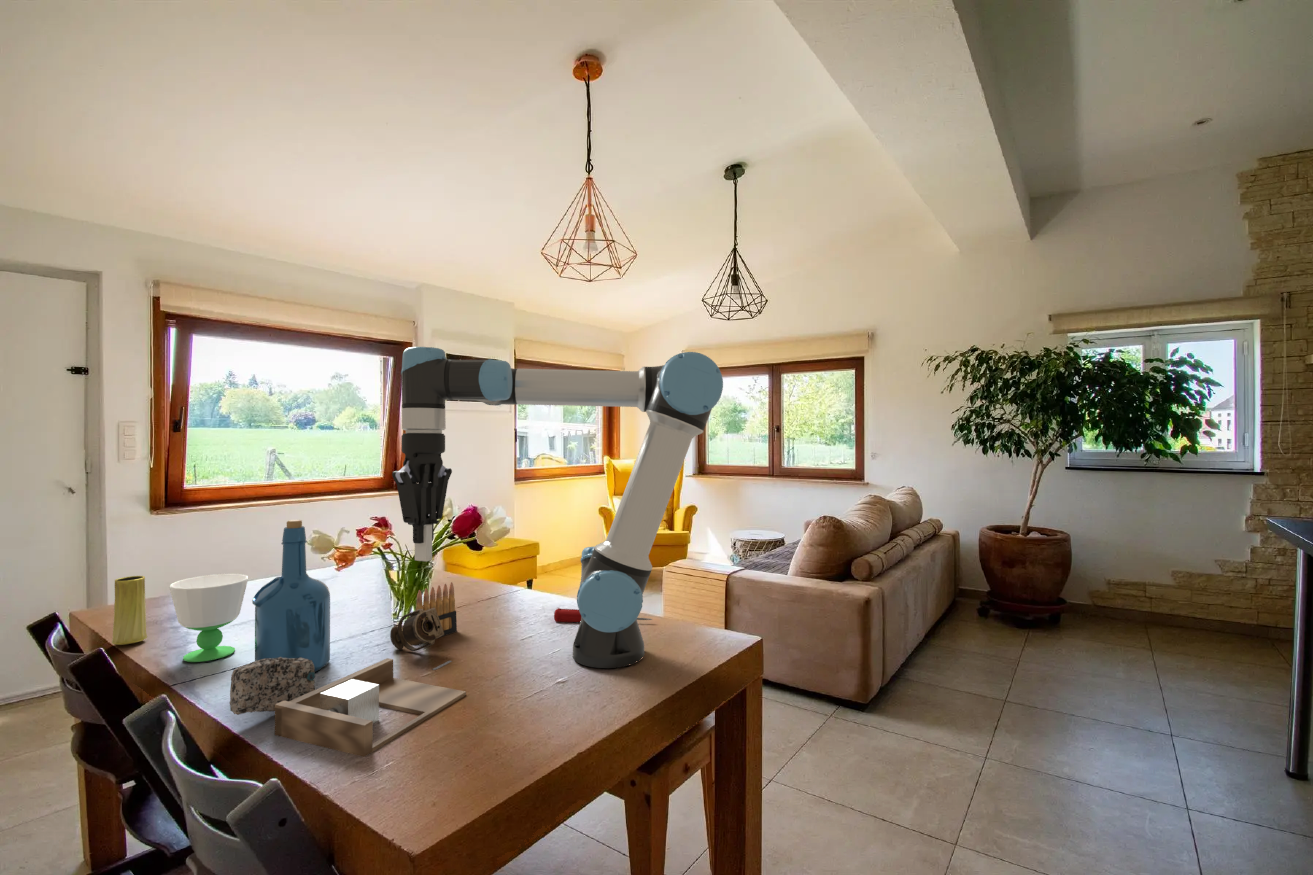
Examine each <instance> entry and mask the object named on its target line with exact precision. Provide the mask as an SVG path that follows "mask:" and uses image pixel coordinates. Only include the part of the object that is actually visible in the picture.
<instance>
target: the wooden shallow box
mask: <svg viewBox="0 0 1313 875" xmlns="http://www.w3.org/2000/svg"><path fill="white" fill-rule="evenodd" d="M351 679H354V680H359V681H364V682H369V683H374V684H379V708H385V709H390V710H395V711H400V712H405V713H409V714H411V713H412V714H415V715H418V716H416V717H414V719H412V720H410V721H408V722H407V723H405V724H403V725H401V726H400V727H398V728H397V729H394V730H393V731H392V732H390V733H388V734H386V735H385V736H383V737H381V738H380V739H378V740H376V741H374V742H373V735H374V734H373V733H374V732H373V728H374V727H373V725H374V723H373V721H371V720H367V719H362V718H358V717H354V716H349V715H345V714H340V713H336V712H332V711H327V710H323V709H320V693H322V692H324V691H326V690H329V689H331V688H333V687H335V686H338V685H340V684H342V683H344V682H347V681H349V680H351ZM466 695H467V691H465V690H460V689H454V688H449V687H443V686H438V685H433V684H428V683H423V682H417V681H413V680H408V679H407V680H406V679H402V678H397V677H394V659H393V658H388V657H386V658H384V659H382V660H380V661H378V662H376V663H373V664H371V665H367V667H364V668H362V669H359V670H357V671H355V672H352V673H350V674H348V675H345V676H343V677H342V678H339V679H337V680H334V681H332V682H330V683H328V684H325V685H323V686H320V687H318V688H317V689H316V688H315V690H314V691H311V692H309V693H307V694H305V695H302V696H300V697H298V698H296V699H293V700H291V701H289V702H288V701H282V702H279V703H277V704H275V711H274V736H277V737H280V738H284V739H289V740H293V741H297V742H301V743H305V744H309V745H313V746H317V747H322V748H326V749H329V750H333V751H338V752H342V753H346V754H351V755H355V756H359V757H363V758H364V757H366V756H368V755H370V754H371V753H373V752H375V751H376V750H378V749H379V748H382V747H383V746H385V745H386V744H388V743H389V742H391V741H393V740H394V739H396V738H397V737H400V736H402V734H405V733H406V732H407V731H410V730H411V729H413V728H414V727H416V726H418V725H419V724H421V723H423V722H424V721H425V720H427V719H429V718H431V717H432V716H434V715H436V714H437V713H439V712H440V711H442V710H444V709H445V708H448V706H451V705H452V704H454V703H455V702H457V701H459V700H460V699H463V697H465V696H466Z"/></svg>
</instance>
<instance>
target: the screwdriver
mask: <svg viewBox="0 0 1313 875" xmlns="http://www.w3.org/2000/svg"><path fill="white" fill-rule="evenodd" d="M553 619H554V622H556V623H572V622H580V621H581V614H580V611H579V609H575V608H573V609H572V608H560V607H557V608H556V609H555V611H554V612H553ZM637 621H653V618H648V617H637Z"/></svg>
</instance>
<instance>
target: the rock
mask: <svg viewBox="0 0 1313 875" xmlns="http://www.w3.org/2000/svg"><path fill="white" fill-rule="evenodd" d="M315 672H316V671H315ZM315 672H314V664H313V662H312V660H308V659H304V658H301V657H300V658H289V659H288V658H282V657H278V658H267V659H262V660H257V661H255V660H254V661H252V662H250V663H247V664H242V665H241V666H238V667H236V668H235V669H233V670H232V673H231V677H230V690H229V696H230V697H229V708H230V709H229V710H230V711H231V712H232V713H233V714H234V715H236V716H239V715H242V714H246V713H257V712H258V713H262V712H275V704H277V703H279V702H282V701H288V702H289V701H291V700H293V699H296V698H298V697H300V696H302V695H305V694H307V693H309V692H311V691H314V690H316V687H315V684H316V682H315V679H316V673H315Z"/></svg>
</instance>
